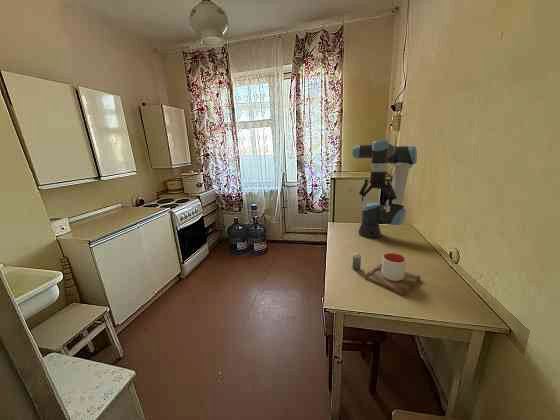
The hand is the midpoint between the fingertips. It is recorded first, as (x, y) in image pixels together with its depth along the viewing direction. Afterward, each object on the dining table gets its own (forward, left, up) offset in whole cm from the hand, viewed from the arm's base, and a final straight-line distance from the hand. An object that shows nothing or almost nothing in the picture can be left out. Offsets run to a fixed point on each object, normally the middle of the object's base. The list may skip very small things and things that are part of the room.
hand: (375, 209), depth 125 cm
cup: (+16, +19, -27) cm, 37 cm away
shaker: (+20, +2, -28) cm, 35 cm away
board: (+16, +19, -28) cm, 38 cm away
